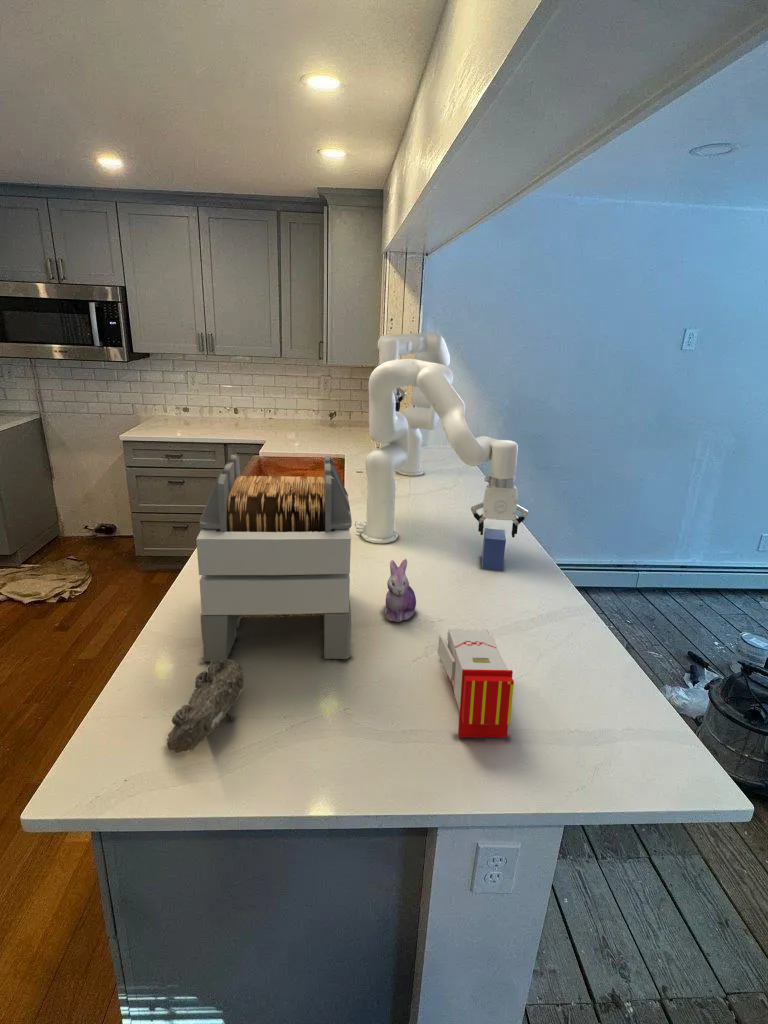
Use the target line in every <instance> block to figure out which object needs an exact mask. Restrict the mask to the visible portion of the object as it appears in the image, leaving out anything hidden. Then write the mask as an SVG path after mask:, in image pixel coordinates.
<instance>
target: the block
mask: <svg viewBox="0 0 768 1024" xmlns="http://www.w3.org/2000/svg"><path fill="white" fill-rule="evenodd" d="M506 544H507V538H506V531H505V529H500V528H499V529H498V528H490V527H489V528H488V527H485V528H484V531H483V542H482V549H481V550H482V551H481V570H491V571H501V572H502V571H503V570H504V569H503V568H504V561H505V560H504V559H505V552H506Z"/></svg>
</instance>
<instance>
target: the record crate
mask: <svg viewBox="0 0 768 1024" xmlns="http://www.w3.org/2000/svg"><path fill="white" fill-rule="evenodd" d="M323 457H324V463H323V464H324V465H323V467H324V469H323V471H324V472H323V476H317V477H316V476H307V477H306V476H305V477H301V476H287V475H286V476H283V475H282V476H280V475H279V477H278V476H274V477H273V476H272V475H270V476H266V475H259V476H257V475H254V476H253V475H249V476H246V475H241V464H240V455H239V454H232V453H231V455H230V457H229V459H228V461H227V462H226V463H225V466H224V468H223V470H222V472H221V473H220V474H219V475H218V477H217V479H216V482H215V483H214V486H213V489H212V491H211V494H210V495H209V498H208V499H207V502H206V504H205V507H204V509H203V511H202V514H201V516H200V519H199V527H200V530H199V534H198V535H197V536H196V539H195V540H196V554H197V566H198V576H201V577H200V578H199V592H200V607H201V609H200V610H201V614H200V627H201V628H200V629H201V631H200V632H201V641H202V646H203V658H202V660H203V662H206V663H210V662H211V661H212V660H217V661H222V662H223V661H224V660H227V659H228V657H229V655H230V652H231V650H232V648H233V645H234V643H235V640H236V638H237V629H236V628H239V627H240V622H241V619H242V618H267V617H268V618H281V617H282V618H291V617H293V618H296V617H319V616H320V617H323V650H324V652H323V653H324V654H323V655H324V656H323V657H324V660H347V659H349V658H350V657H351V645H352V644H351V642H352V641H351V640H352V639H351V638H352V609H351V600H350V599H351V598H350V589H351V588H350V586H351V585H350V584H351V578H350V577H351V576H350V575H351V546H352V537H351V536H352V535H351V531H350V529H351V528H352V523H353V520H352V519H353V518H352V513H351V506H350V500H349V494H348V491H347V490H346V487H345V485H344V482H343V481H342V478H341V476H340V474H339V472H338V470H337V468H336V466H335V463H334V461H333V459H332V457H331V455H324V456H323Z"/></svg>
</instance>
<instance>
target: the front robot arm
mask: <svg viewBox="0 0 768 1024" xmlns="http://www.w3.org/2000/svg"><path fill="white" fill-rule="evenodd" d="M378 365H379V364H378ZM453 383H454V374H453V372H452V370H451V369H450V368H449V366H448V367H447V366H445V365H442V364H437V363H431V362H426V361H421V360H415V359H414V358H401V359H398V360H392V361H388V362H385V363H383V364H381V365H379V366H378V367H377V366H376V367H375V368H374V369H373V370H372V372H371V373H370V375H369V378H368V398H369V399H368V430H369V437H370V438H371V440H372V442H374V443H375V444H378V445H379V444H380V445H382V446H379V447H377V448H374V449H373V450H371V451H370V452H369V454H368V455H367V456H366V459H365V471H366V480H367V481H366V482H367V483H366V519H365V520H366V521H364V522H362V521H355V522H354V527H355V529H356V530H361V534H360V535H361V538H362V539H363V540H364V541H366V542H368V543H373V544H389V543H393V542H395V541H397V540H398V537H399V534H398V532H397V531H396V530H395V528H394V527H395V510H396V509H395V508H396V507H395V506H396V491H397V490H396V488H397V487H396V481H395V475H394V474H395V472H397V470H399V469H401V468H403V467H404V466H405V464H406V463H407V460H408V443H409V428H408V422H407V420H406V418H405V416H404V415H403V414H402V412H400V411H399V412H398V411H396V410H395V407H396V401H395V396H394V393H393V390H394V389H395V388H399V387H400V388H405V387H409V386H410V387H414V386H415V387H419V389H420V390H421V392H422V393H423V395H424V396H425V397H426V399H427V400H428V402H429V403H430V404H431V406H432V407H433V409H434V410H435V412H436V413H437V414H438V416H439V417H440V418H439V420H440V421H441V424H442V428H443V431H444V434H445V436H446V440H447V442H448V443H449V445H450V447H451V448H452V449H453V451H454V452H455V454H456V455H457V457H458V458H459V459H460V460H461V462H463V464H465V465H466V466H469V467H478V466H480V465H482V464H484V463H486V462H490V467H489V475H488V476H485V477H484V482H486V483H488V484H486V487H485V490H484V496H483V501H482V502H480V503H478V504H475V505H473V506H470V511H471V513H472V515H473V517H474V519H476V521H477V522H478V529H477V530H478V532H480V534H479V535H480V536H484V527H485V523H484V521H485V520H486V519H488V520H498V521H499V520H500V521H512V525H511V537H512V538H514V539H515V537H516V535H517V534H518V527H519V525H521V524H522V523H523V521H525V519H526V518H527V516H529V512H530V511H529V510H528V509H526V508H524V507H523V506H520V505H519V504H518V497H519V496H518V488H517V486H516V485H515V484H516V474H517V473H516V472H517V465H518V454H519V453H518V452H519V445H518V443H517V442H516V441H514V440H510V439H497V438H493V437H489V436H485V435H481V436H477V437H475V435H474V434H473V433H472V432H471V430H470V428H469V426H468V424H467V421H466V417H465V416H466V415H465V414H466V404H465V402H464V400H463V399H462V398H461V396H460V395H459V393H458V392H457V390H456V389H455V388H454V386H453ZM481 509H482V513H481V514H479V513H478V510H481ZM518 512H520V513H521V515H520V516H518V517H517V513H518Z"/></svg>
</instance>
